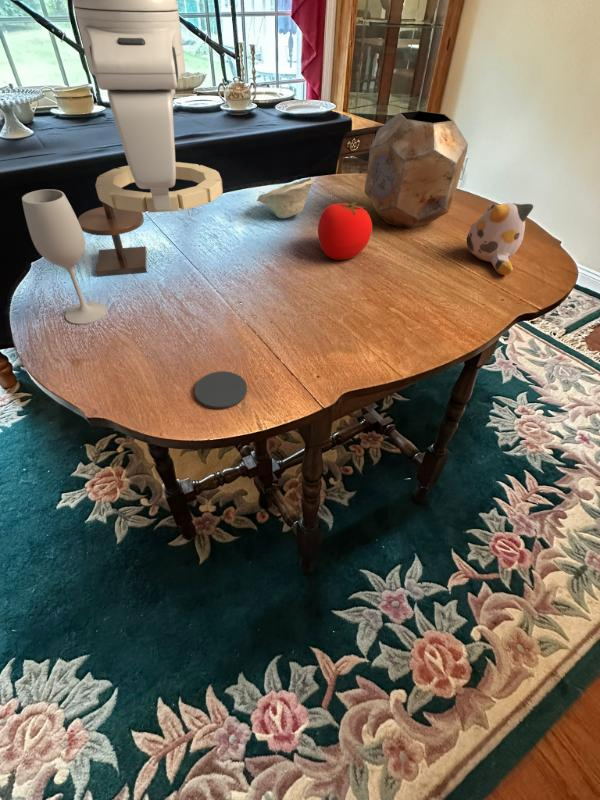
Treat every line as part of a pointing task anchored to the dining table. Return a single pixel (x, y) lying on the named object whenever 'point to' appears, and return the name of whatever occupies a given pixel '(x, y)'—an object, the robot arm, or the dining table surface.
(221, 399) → the coaster
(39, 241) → the wineglass
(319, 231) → the tomato
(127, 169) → the hoop
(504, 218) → the figurine
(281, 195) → the bowl
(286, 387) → the dining table surface
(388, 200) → the planter
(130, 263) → the rack
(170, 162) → the robot arm
